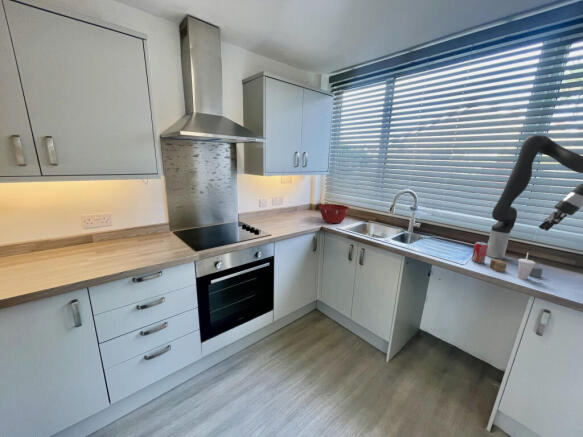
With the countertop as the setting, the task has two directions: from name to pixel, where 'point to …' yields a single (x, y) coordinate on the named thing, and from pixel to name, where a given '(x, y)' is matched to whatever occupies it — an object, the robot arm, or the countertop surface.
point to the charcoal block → (536, 271)
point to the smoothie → (525, 268)
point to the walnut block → (498, 265)
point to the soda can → (479, 252)
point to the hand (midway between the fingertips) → (542, 229)
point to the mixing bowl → (333, 212)
